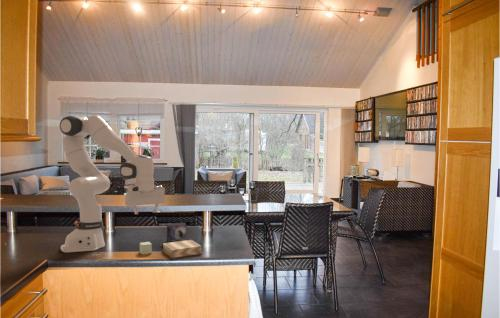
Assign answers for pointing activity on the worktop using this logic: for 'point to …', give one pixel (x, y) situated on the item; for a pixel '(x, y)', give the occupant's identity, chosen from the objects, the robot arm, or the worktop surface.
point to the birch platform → (181, 248)
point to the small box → (176, 232)
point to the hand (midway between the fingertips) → (145, 213)
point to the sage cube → (145, 248)
